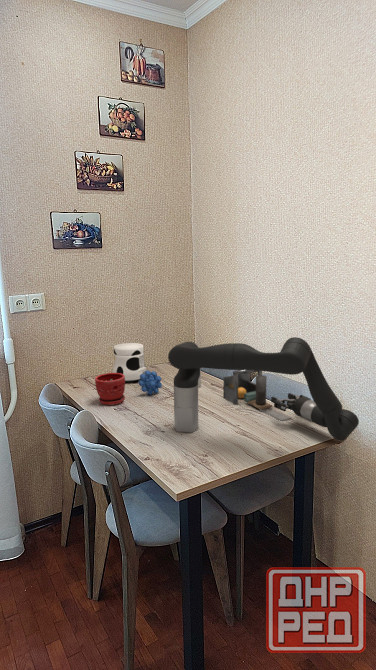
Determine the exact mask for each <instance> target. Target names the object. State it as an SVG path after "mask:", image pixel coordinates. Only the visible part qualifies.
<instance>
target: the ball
mask: <svg viewBox="0 0 376 670" xmlns="http://www.w3.org/2000/svg"><path fill="white" fill-rule="evenodd" d="M244 393H247V392H246V390H245V389H244V388H242V387H240V388H238V399H244Z"/></svg>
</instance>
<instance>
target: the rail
mask: <svg viewBox="0 0 376 670" xmlns="http://www.w3.org/2000/svg"><path fill="white" fill-rule="evenodd" d="M259 411H260V412H261V413H264V414H265V415H267V414H268V416H269V415H270V417H271V416H272V418H273V417H274V419H275V418H276V420H277V419H278V420H277V421H279V420H280V422H281V421H282V422H285V421H284V420H286V421H289V420H288V419H290V420H292V417H291V416H289V415H286V414H284V413H282V412H281V411H280V410H276V409H274V408H273V407H270V408H266V409H262V410H261V409H259Z"/></svg>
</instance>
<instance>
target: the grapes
mask: <svg viewBox="0 0 376 670" xmlns="http://www.w3.org/2000/svg"><path fill="white" fill-rule="evenodd" d="M140 379H141V380H138V381H137V382H138V385H139V386H140V390H141V392H143V393H147V395H149V396H151V395H153V394H158V393H159V389H161V388H162V387H163V384H162V382H161V381H162V377H161V376H160V375H158V374H157V372H156V371H154V370H152V371H150V370H148V369H146V371H145V374H141V375H140Z"/></svg>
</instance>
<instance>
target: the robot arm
mask: <svg viewBox="0 0 376 670" xmlns="http://www.w3.org/2000/svg"><path fill="white" fill-rule="evenodd" d="M167 358H168V362H169V364H170V365H171V366H172V367H173V368H175V369H177V373H176V374H175V376H174V377H173V417H174V423H173V424H174V429H175V430H176V432H178V433H182V432H183V433H193V432H195V431H197V430H198V429H199V387H198V380H199V377H200V368H201V369H211V370H212V369H213V370H227V371H238V370H253V371H262V372H268V373H276V374H281V375H282V374H283V375H289V376H291V375H293V376H294V375H299V374H301V373H303V376H304V378H305V381H306V384H307V386H308V391H309V393H310V396H311V398H310V397H308V396H305V395H304V394H300V395H298V394H296V395H295V394H293V393H290V392H289V393H287V398H283V399H280V398H277V397H274V396H271V399H270V401H271V403H272V404H273V408H275V409H278V410H279V411H282V412H287V410H290V411H293V413H294V414H295V416H297V417H298V418H299V417H300V418H302V419H303V420H306V421H308V422H310V423H314V424H316V425H318V426H319V427H323V428H326V429H327V431H328V433H329V435H330V436H331V437H332V438H334V439H335V440H337V441H341V442H342V441H345V440H346V439H347V438H348V437H349V436H350V435H352V432H354V430H355V429H356V428H357V427H358V426H359V423H360V420H359V418H358V416H357V415H356V414H355V413H354V412H353V411H350V410H348V409H343V405H342V403H341V401H340V400H339V398H338V397H337V395H336V394H335V392H334V391H333V389H332V388H331V386H330V385H329V383H328V381H327V379H326V377H325V376H324V374H323V371H322V370H321V367H320V365H319V363H318V362H317V359H316V357H315V354H314V353H313V349H312V348H311V346H310V344H309V343H308V342H307V341H306V340H304V339H303V338H301V337H298V336H295V337H294V336H293V337H290V338H288V339H287V340H286V341H285V342H284V344H283V345H282V347H281V349H280V351H279V352H263V351H259V350H258V349H256V348H255V347H252V346H251V345H248V344H245V343H238V342H237V343H233V342H232V343H231V342H230V343H221V344H215V345H209V346H205V347H204V346H203V347H199V346H198V345H197V343H195V342H194V341H185V342H182V343H179V344H176V345H175V346H173V347H172V348H171V349H170V350H169V352H168V355H167Z"/></svg>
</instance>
